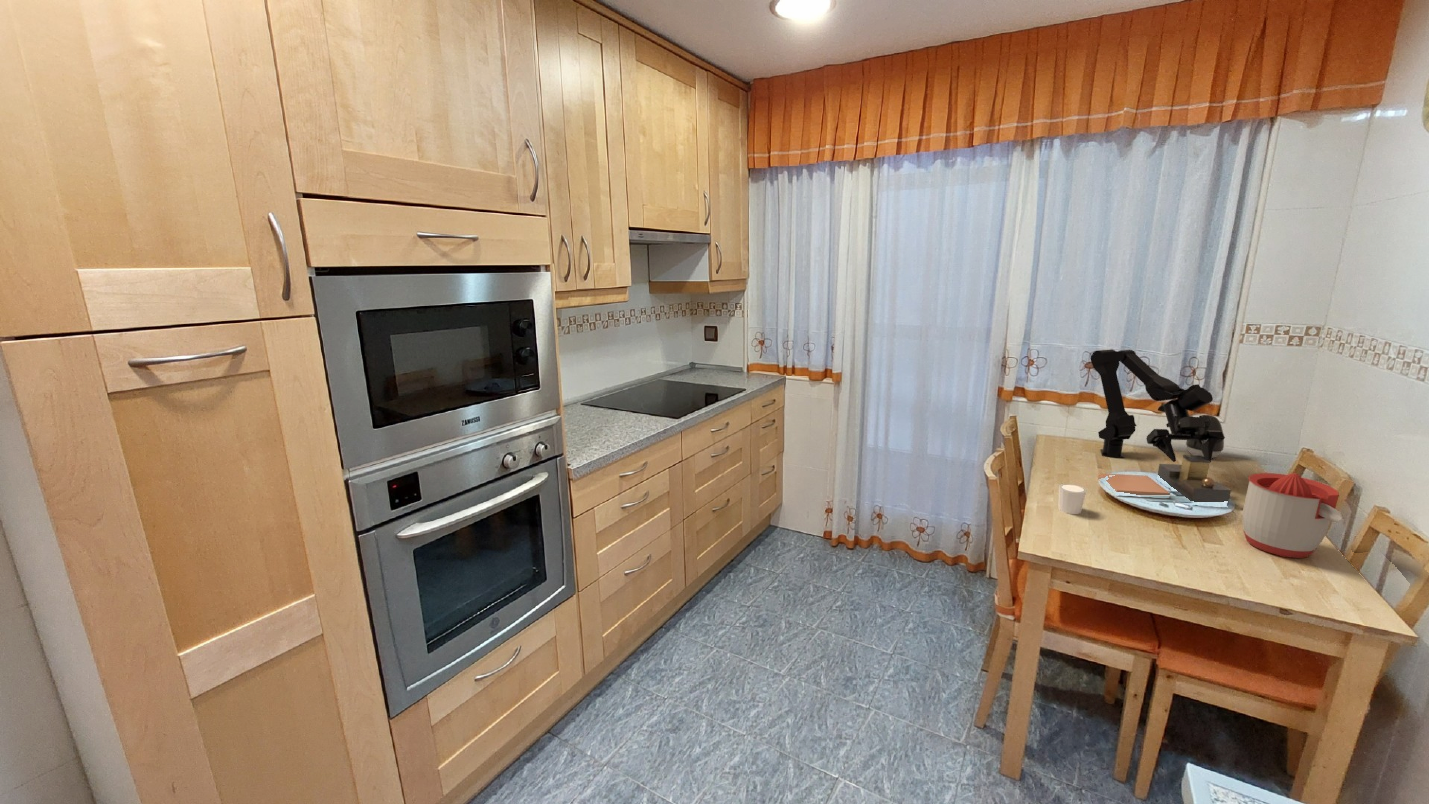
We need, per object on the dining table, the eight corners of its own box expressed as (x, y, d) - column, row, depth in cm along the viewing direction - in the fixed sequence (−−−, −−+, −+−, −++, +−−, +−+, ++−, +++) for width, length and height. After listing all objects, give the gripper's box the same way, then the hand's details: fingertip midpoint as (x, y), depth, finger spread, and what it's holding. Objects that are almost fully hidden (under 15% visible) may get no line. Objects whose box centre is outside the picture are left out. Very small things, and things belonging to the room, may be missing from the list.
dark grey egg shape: (1177, 454, 205) (1185, 414, 201) (1193, 449, 209) (1201, 410, 205) (1211, 463, 196) (1219, 421, 192) (1227, 457, 200) (1235, 416, 196)
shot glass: (1075, 505, 169) (1078, 483, 167) (1088, 515, 162) (1091, 492, 160) (1051, 505, 169) (1054, 483, 167) (1063, 515, 163) (1066, 492, 161)
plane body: (1156, 479, 184) (1160, 456, 182) (1188, 481, 182) (1193, 457, 180) (1191, 505, 165) (1195, 480, 163) (1227, 507, 163) (1232, 482, 161)
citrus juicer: (1302, 572, 131) (1323, 492, 126) (1219, 537, 147) (1235, 466, 142) (1348, 560, 135) (1369, 483, 130) (1262, 528, 151) (1279, 458, 146)
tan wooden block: (1178, 479, 176) (1183, 454, 174) (1197, 480, 174) (1202, 455, 172) (1186, 484, 171) (1191, 459, 169) (1205, 485, 170) (1210, 460, 168)
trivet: (1097, 478, 186) (1098, 473, 186) (1146, 481, 183) (1147, 475, 183) (1116, 496, 173) (1117, 490, 173) (1169, 499, 170) (1170, 493, 170)
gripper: (1156, 404, 176) (1169, 449, 169) (1227, 405, 172) (1243, 451, 164) (1140, 421, 186) (1152, 464, 178) (1207, 423, 181) (1222, 467, 174)
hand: (1191, 462), depth 173 cm, fingers open, 9 cm apart
